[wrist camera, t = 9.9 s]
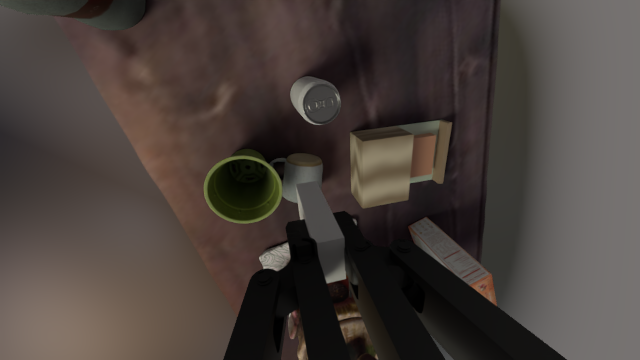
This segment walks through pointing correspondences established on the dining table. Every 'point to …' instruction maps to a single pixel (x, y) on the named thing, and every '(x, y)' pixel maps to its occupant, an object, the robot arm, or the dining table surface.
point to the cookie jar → (343, 304)
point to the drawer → (441, 146)
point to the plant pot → (243, 188)
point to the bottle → (86, 11)
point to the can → (315, 100)
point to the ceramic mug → (299, 172)
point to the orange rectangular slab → (422, 154)
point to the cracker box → (452, 257)
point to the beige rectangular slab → (380, 165)
